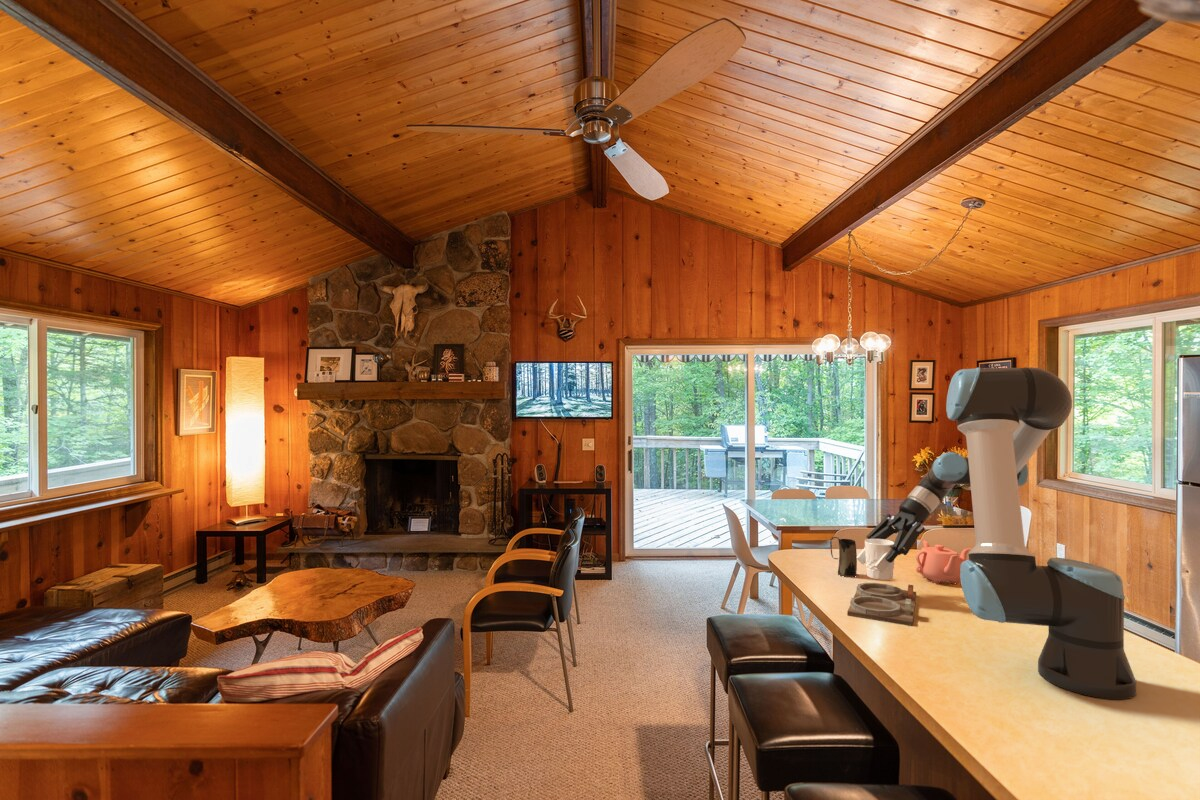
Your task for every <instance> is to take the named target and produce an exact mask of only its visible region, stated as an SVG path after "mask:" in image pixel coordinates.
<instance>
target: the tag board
mask: <svg viewBox="0 0 1200 800" xmlns="http://www.w3.org/2000/svg"><path fill="white" fill-rule="evenodd" d="M916 600H917V591H915V590H914V584H908V585H907V589H902V588H900V587H898V586H894V585H893V584H892V585H891V584H887V583H880V582H863V583H862V582H861V583H858V584H857V585H856V591H855V593H854V596H853V597H851V599H850V601H849V602H850V605H849V608H848V609H847V611H846V612H847V614H846V615H847V616H848V617H854V618H860V619H861V618H862V619H868V620H873V621H874V620H875V621H879V622H887V623H892V624H893V623H894V624H899V625H905V626H913V625H914V618H915V617H914V616H915V610H914V609H916V602H917V601H916ZM915 601H916V602H915Z"/></svg>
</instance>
